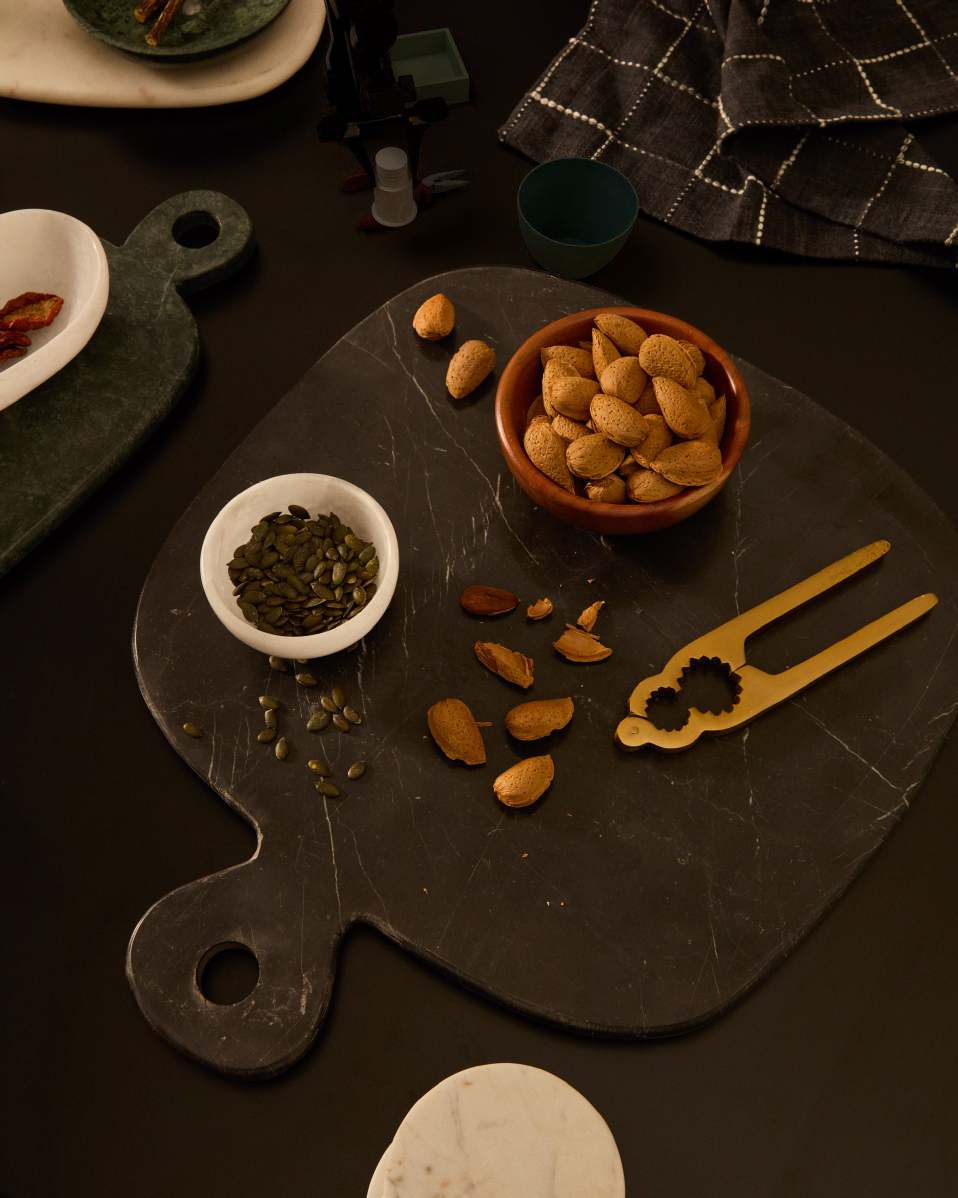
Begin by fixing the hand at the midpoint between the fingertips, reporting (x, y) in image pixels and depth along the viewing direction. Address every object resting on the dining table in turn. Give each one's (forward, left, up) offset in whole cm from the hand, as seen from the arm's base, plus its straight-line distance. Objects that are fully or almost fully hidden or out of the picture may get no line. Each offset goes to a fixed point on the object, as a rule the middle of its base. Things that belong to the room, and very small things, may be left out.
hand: (394, 183), depth 144 cm
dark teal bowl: (+9, +26, -13) cm, 30 cm away
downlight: (-1, 0, -7) cm, 7 cm away
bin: (-37, +14, -13) cm, 42 cm away
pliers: (-9, +4, -13) cm, 17 cm away
